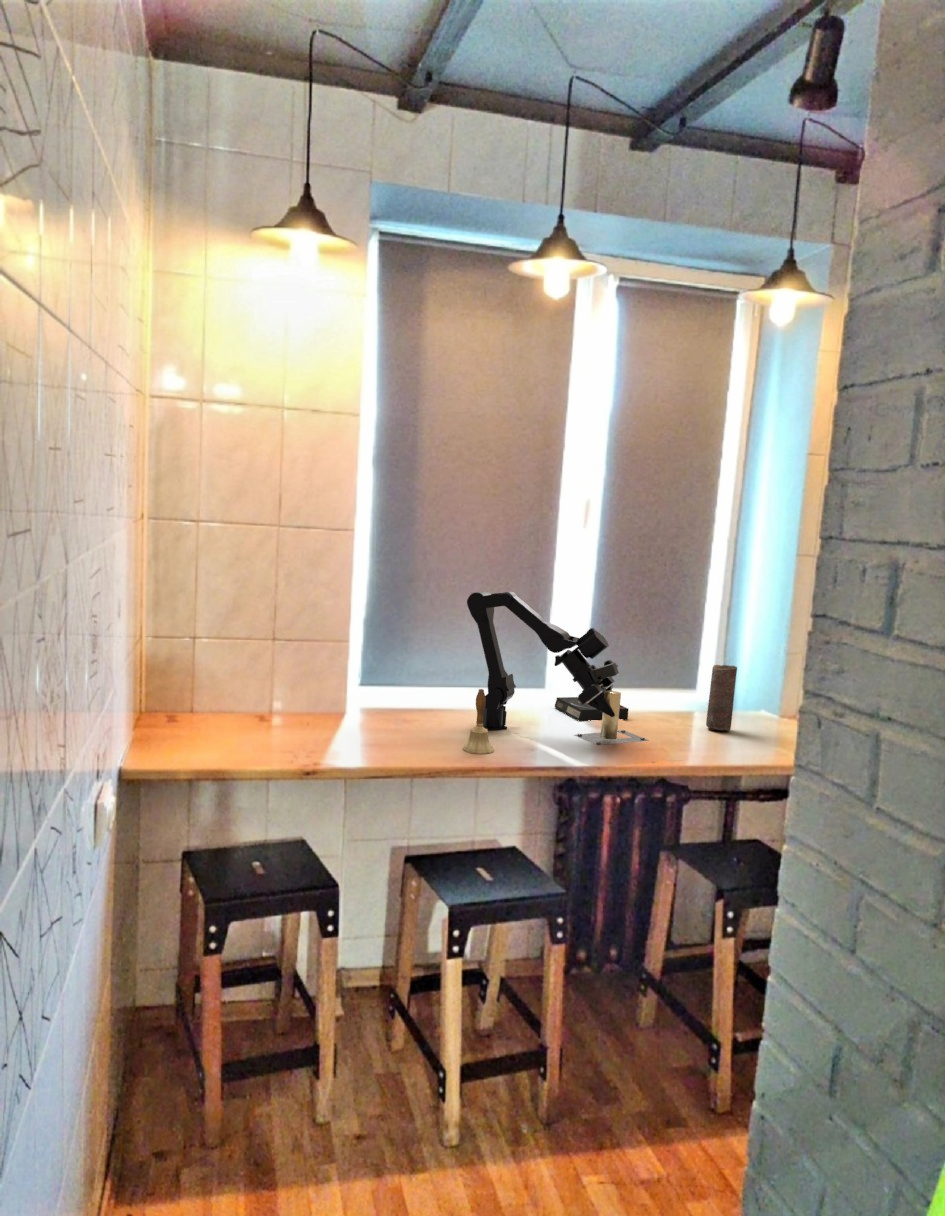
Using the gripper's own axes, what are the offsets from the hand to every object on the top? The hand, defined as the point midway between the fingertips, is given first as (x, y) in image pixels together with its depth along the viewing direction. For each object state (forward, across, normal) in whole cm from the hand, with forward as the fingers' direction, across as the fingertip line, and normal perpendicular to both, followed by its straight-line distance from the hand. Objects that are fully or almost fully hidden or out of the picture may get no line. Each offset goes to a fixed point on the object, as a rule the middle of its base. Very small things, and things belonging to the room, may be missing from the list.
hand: (615, 714), depth 252 cm
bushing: (+4, 0, +6) cm, 7 cm away
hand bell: (-14, -25, +28) cm, 40 cm away
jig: (+5, +4, +7) cm, 10 cm away
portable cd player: (-4, +35, +18) cm, 39 cm away
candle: (+23, +39, -10) cm, 46 cm away
